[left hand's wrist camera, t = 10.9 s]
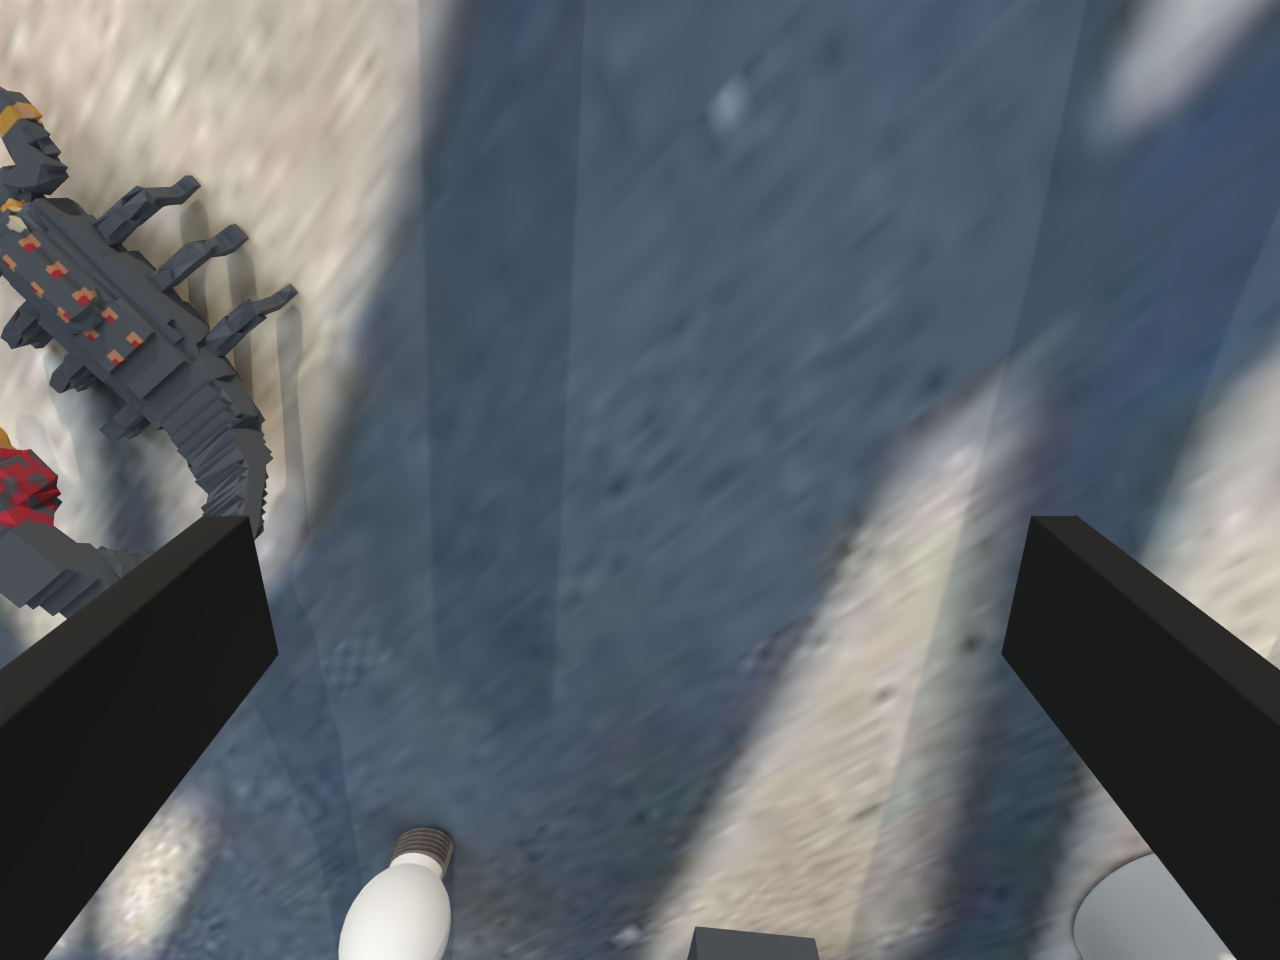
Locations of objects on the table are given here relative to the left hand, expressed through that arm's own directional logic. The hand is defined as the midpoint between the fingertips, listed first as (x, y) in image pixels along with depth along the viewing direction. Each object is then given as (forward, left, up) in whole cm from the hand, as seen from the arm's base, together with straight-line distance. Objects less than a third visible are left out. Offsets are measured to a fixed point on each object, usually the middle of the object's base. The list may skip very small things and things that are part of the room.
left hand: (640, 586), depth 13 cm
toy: (+18, -20, -30) cm, 40 cm away
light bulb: (+39, +16, -30) cm, 51 cm away
